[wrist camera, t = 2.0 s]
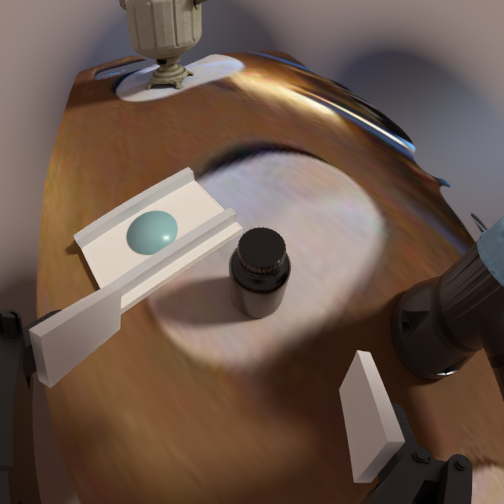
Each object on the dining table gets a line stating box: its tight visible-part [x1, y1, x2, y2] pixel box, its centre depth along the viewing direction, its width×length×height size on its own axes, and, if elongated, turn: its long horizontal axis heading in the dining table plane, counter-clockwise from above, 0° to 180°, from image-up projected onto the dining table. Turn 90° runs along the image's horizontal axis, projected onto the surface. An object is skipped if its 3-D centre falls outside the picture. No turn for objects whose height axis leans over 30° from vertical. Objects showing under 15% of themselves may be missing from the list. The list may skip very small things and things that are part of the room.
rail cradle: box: [73, 167, 243, 314], centre depth 42 cm, size 22×16×3 cm
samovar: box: [119, 0, 206, 89], centre depth 56 cm, size 30×26×40 cm
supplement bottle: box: [229, 227, 291, 318], centre depth 34 cm, size 7×7×12 cm
